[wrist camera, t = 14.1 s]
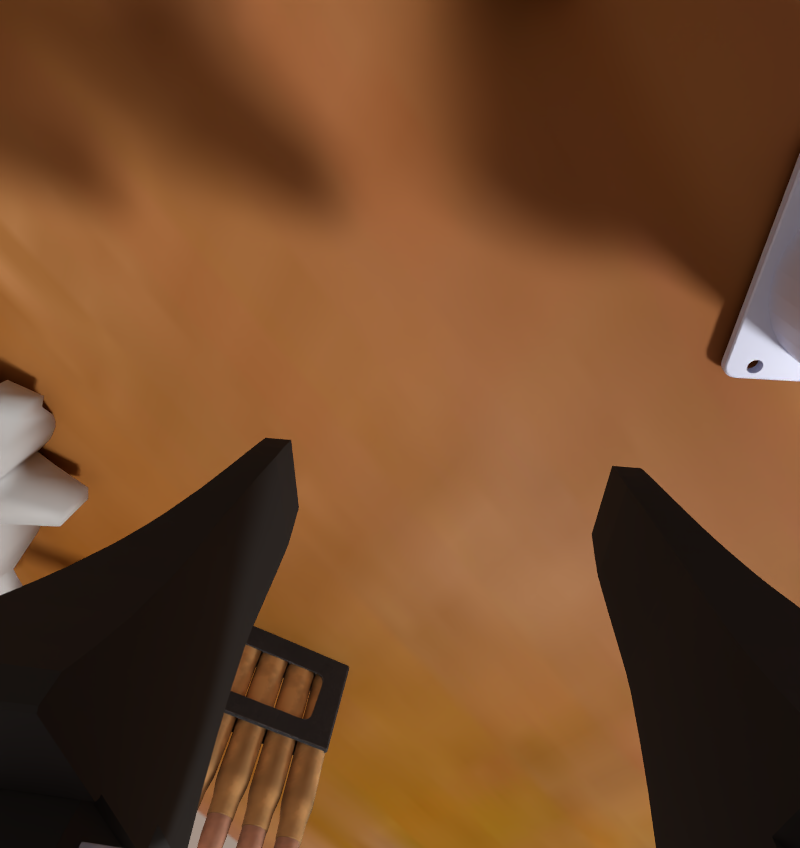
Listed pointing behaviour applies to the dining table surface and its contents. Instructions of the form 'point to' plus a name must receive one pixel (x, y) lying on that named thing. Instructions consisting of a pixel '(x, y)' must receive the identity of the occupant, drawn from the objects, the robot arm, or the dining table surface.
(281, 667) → the ammunition clip
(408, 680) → the dining table surface
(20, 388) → the bunny figurine
